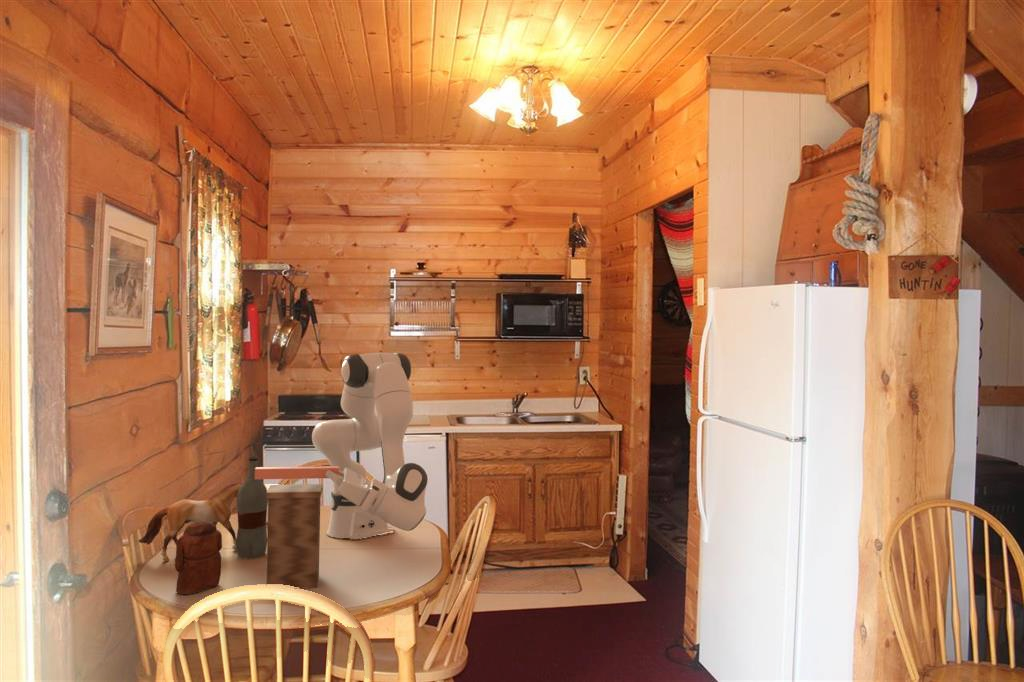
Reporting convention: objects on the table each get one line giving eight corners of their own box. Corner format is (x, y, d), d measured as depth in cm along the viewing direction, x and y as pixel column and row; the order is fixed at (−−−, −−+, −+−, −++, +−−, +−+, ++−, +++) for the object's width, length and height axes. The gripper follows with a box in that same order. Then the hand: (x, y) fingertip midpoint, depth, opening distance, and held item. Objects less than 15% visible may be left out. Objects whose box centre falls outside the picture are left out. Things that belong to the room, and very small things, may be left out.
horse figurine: (245, 544, 239) (246, 480, 239) (251, 551, 232) (253, 485, 232) (137, 559, 222) (139, 490, 222) (141, 566, 215) (142, 495, 215)
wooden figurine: (207, 580, 205) (208, 515, 205) (223, 584, 202) (224, 518, 202) (169, 593, 194) (171, 524, 194) (186, 598, 191) (187, 528, 191)
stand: (320, 575, 211) (322, 484, 210) (318, 588, 201) (320, 491, 201) (268, 578, 208) (270, 484, 208) (264, 590, 198) (266, 492, 198)
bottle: (240, 550, 233) (241, 454, 232) (270, 550, 234) (272, 454, 233) (231, 559, 223) (233, 459, 223) (263, 559, 224) (265, 459, 224)
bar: (338, 476, 208) (339, 466, 208) (338, 478, 205) (338, 467, 205) (256, 477, 203) (256, 467, 203) (254, 479, 201) (254, 469, 201)
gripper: (375, 477, 219) (334, 454, 216) (377, 492, 198) (331, 467, 196) (364, 496, 218) (322, 473, 216) (364, 513, 198) (318, 488, 195)
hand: (326, 470), depth 206 cm, fingers closed on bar, 3 cm apart
